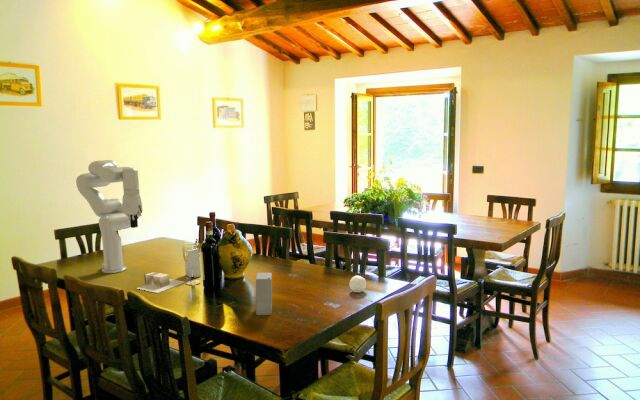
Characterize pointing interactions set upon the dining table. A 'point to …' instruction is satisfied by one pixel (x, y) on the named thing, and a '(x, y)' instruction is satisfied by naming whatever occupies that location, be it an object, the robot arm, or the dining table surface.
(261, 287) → the skincare box
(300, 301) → the dining table surface
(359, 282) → the geometric ball
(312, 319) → the dining table surface
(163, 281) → the birch block
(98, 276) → the dining table surface
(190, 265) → the skincare box
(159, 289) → the mat
